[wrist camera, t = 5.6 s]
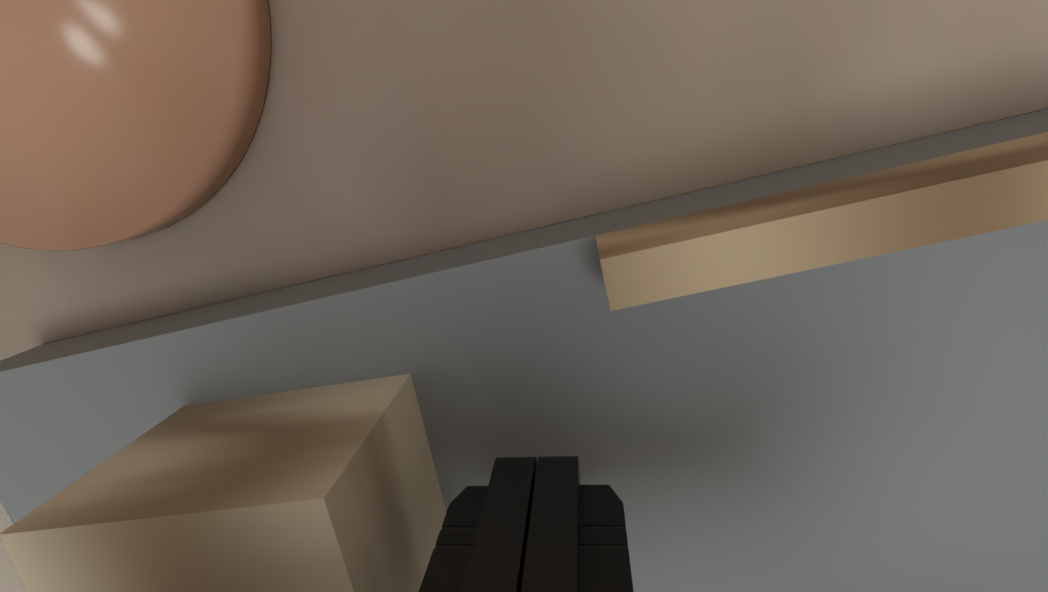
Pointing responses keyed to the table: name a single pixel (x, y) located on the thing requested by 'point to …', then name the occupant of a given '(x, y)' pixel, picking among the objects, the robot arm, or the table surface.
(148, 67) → the saucer
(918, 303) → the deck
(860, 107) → the table surface
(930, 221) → the frame
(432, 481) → the block
